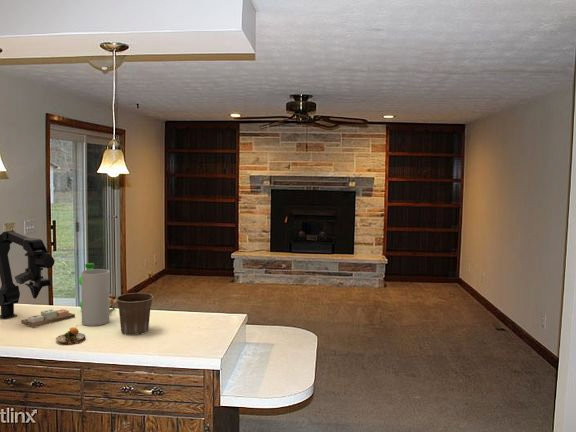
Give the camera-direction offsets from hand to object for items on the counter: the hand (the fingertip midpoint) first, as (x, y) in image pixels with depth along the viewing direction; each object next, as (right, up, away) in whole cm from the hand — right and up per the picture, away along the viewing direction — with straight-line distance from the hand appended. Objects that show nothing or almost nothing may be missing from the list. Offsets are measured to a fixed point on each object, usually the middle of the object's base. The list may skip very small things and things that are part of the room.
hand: (34, 298), depth 236 cm
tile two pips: (+4, -10, +6) cm, 12 cm away
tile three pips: (+8, -11, +11) cm, 17 cm away
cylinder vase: (+27, -13, +5) cm, 30 cm away
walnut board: (+4, -12, +6) cm, 14 cm away
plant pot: (+50, -14, -7) cm, 52 cm away
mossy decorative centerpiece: (+26, -15, -21) cm, 37 cm away
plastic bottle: (+17, -11, +23) cm, 31 cm away
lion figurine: (+27, -11, +22) cm, 37 cm away
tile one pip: (0, -12, 0) cm, 12 cm away
